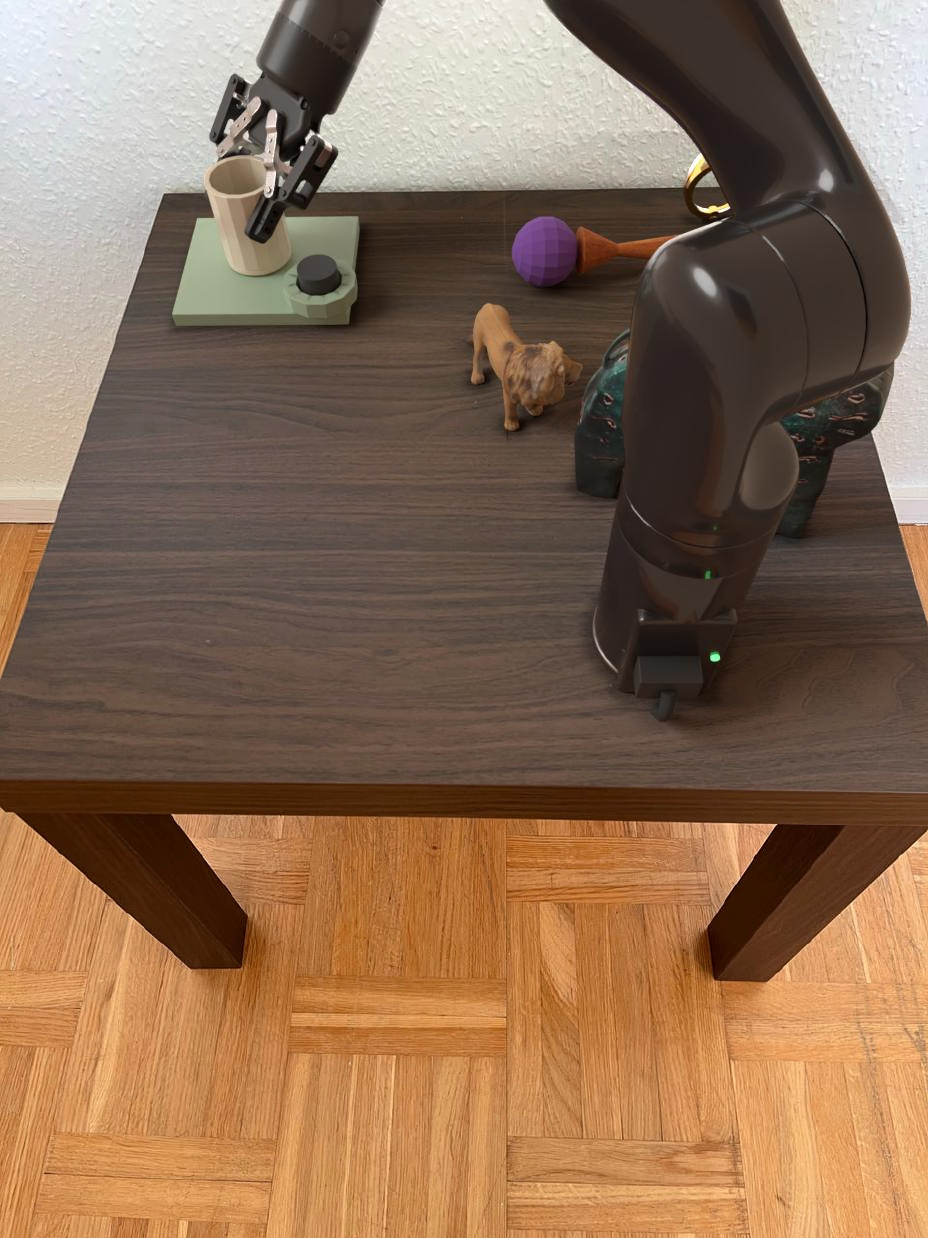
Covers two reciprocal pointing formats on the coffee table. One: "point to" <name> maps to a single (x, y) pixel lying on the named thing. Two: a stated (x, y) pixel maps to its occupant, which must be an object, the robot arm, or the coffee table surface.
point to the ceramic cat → (808, 428)
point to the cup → (244, 215)
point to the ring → (689, 184)
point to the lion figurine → (519, 365)
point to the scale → (268, 279)
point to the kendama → (569, 250)
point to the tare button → (318, 275)
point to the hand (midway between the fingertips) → (233, 220)
